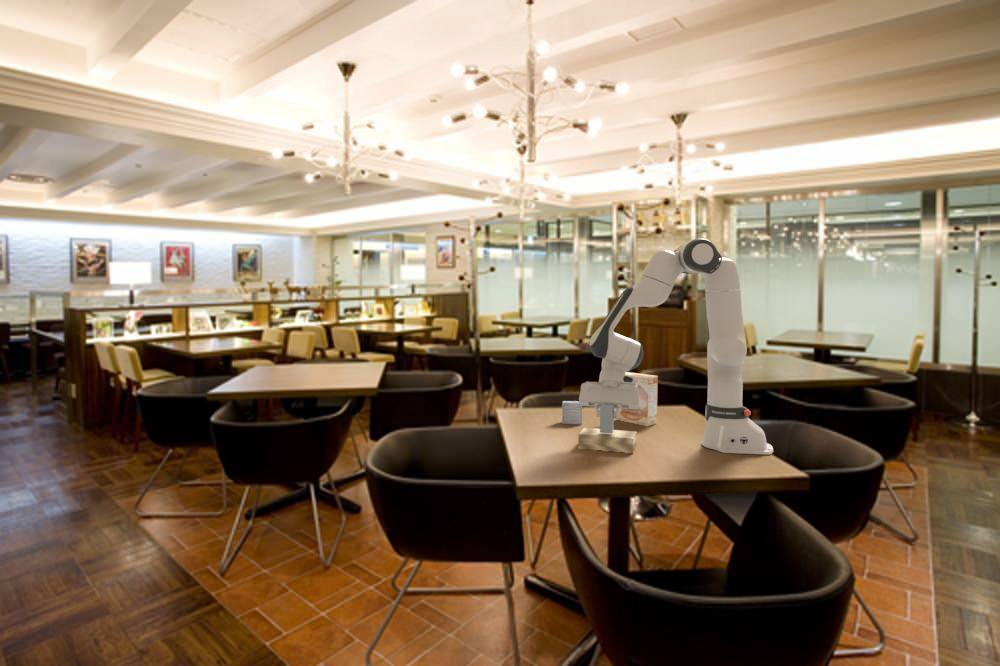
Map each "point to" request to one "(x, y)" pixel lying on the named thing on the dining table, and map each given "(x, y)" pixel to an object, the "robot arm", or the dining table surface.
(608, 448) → the block
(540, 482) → the dining table surface
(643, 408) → the coffeecake box
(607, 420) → the pillar
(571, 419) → the medicine box
